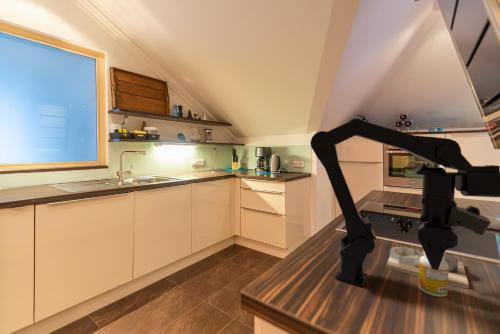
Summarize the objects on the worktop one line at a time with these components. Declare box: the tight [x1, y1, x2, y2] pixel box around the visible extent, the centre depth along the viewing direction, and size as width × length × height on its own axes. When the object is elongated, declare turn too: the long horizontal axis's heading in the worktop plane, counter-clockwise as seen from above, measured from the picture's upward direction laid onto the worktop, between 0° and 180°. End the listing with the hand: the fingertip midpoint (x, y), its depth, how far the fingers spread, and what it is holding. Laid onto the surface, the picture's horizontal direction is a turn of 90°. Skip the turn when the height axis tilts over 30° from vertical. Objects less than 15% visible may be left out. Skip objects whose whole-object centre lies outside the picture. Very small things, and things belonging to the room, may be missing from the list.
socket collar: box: [389, 246, 424, 267], centre depth 69 cm, size 9×9×2 cm
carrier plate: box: [385, 254, 470, 290], centre depth 66 cm, size 14×17×1 cm
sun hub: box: [444, 253, 459, 273], centre depth 63 cm, size 5×5×3 cm
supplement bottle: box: [418, 250, 449, 298], centre depth 55 cm, size 5×5×10 cm
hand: (434, 261), depth 54 cm, fingers open, 9 cm apart
